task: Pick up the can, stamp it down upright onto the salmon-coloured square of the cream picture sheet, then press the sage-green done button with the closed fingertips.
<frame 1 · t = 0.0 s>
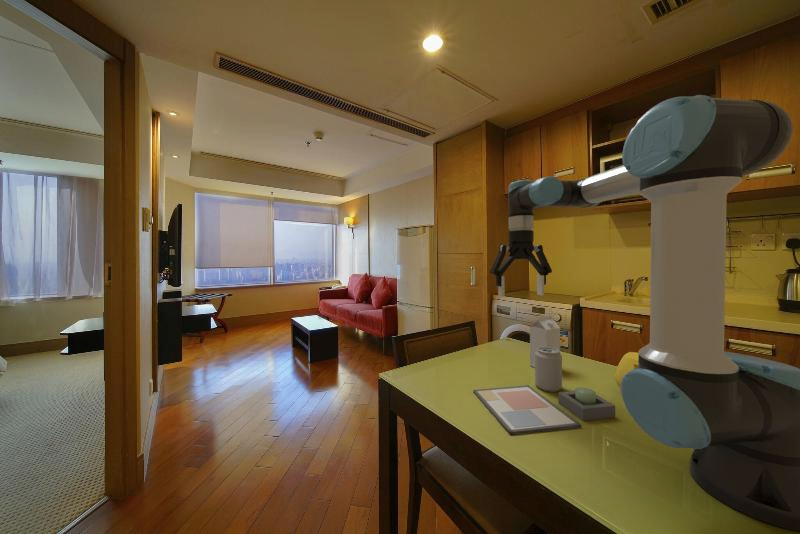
hand: (521, 295, 96), 28 cm above the table, fingers open, 13 cm apart
milk carton: (544, 368, 108), on the table
done button: (585, 397, 78), point 3 cm above the table, slide at 0.0 cm
can: (548, 388, 92), on the table
teapot: (643, 397, 85), on the table
picture sheet: (520, 407, 80), on the table
button housing: (585, 409, 78), on the table
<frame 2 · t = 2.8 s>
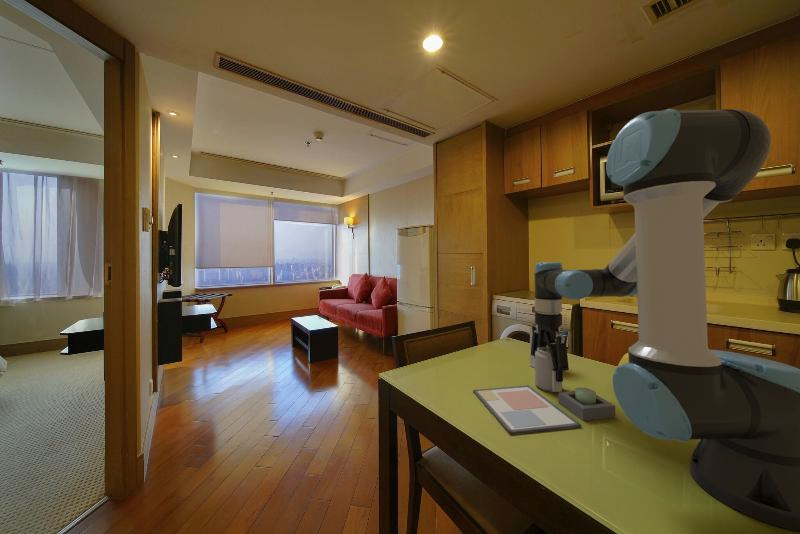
hand: (548, 385, 92), 1 cm above the table, fingers closed on can, 7 cm apart
can: (548, 388, 92), on the table, touching gripper
everything else where it was.
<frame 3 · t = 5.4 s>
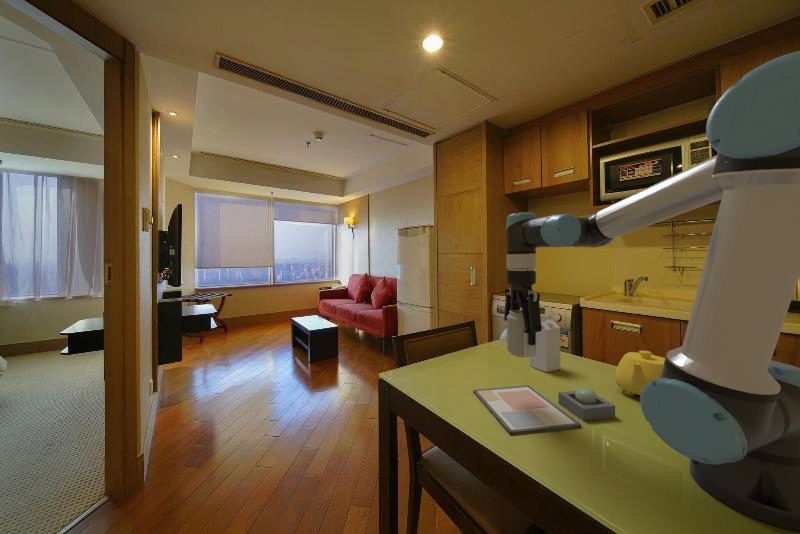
hand: (521, 351, 83), 14 cm above the table, fingers closed on can, 7 cm apart
can: (521, 354, 83), point 13 cm above the table, touching gripper
everything else where it was.
when the fingers open (3 cm above the table, at t = 7.8 s): can drops 1 cm, resting on picture sheet.
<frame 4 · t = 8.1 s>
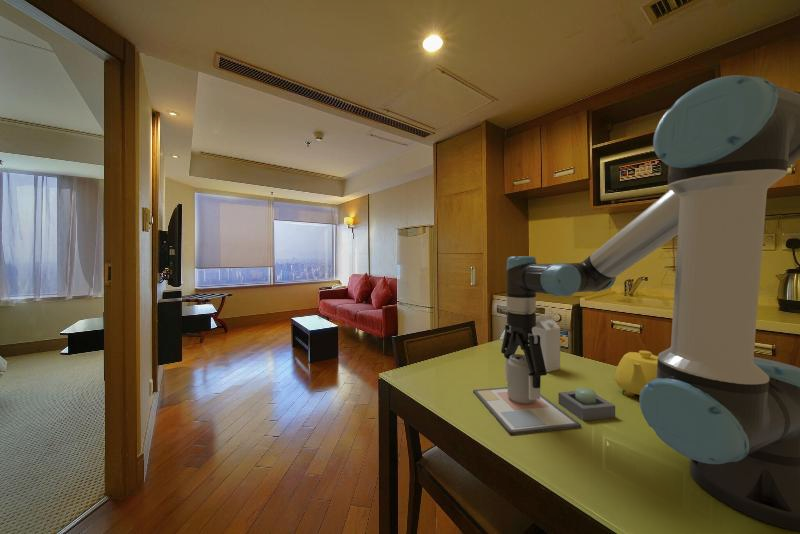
hand: (521, 388, 83), 4 cm above the table, fingers open, 11 cm apart
can: (521, 400, 83), point 1 cm above the table, touching picture sheet
everything else where it was.
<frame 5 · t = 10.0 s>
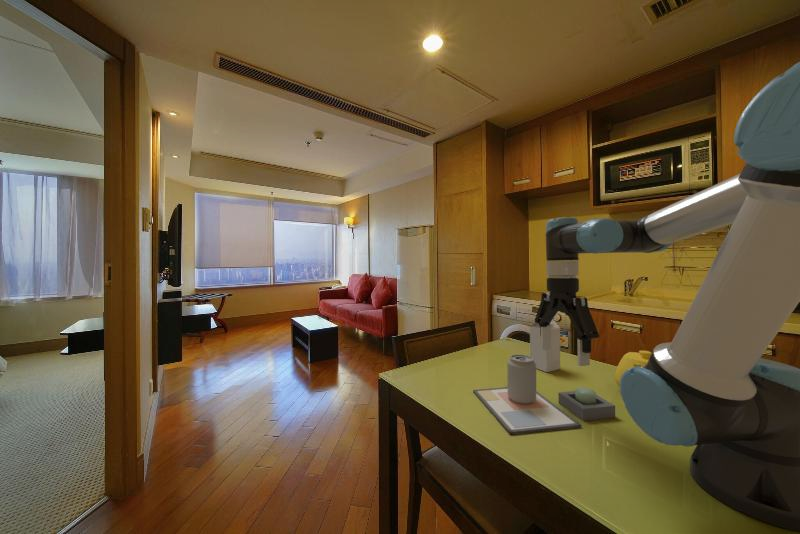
hand: (563, 356, 79), 14 cm above the table, fingers open, 13 cm apart
nothing on the table moved.
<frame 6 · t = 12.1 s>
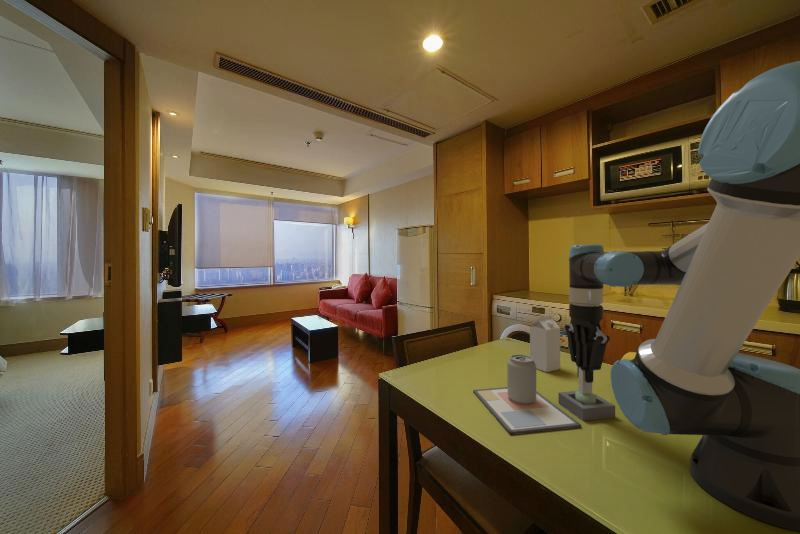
hand: (585, 392, 78), 5 cm above the table, fingers closed
done button: (585, 400, 78), point 3 cm above the table, slide at 0.7 cm, touching gripper
everything else where it was.
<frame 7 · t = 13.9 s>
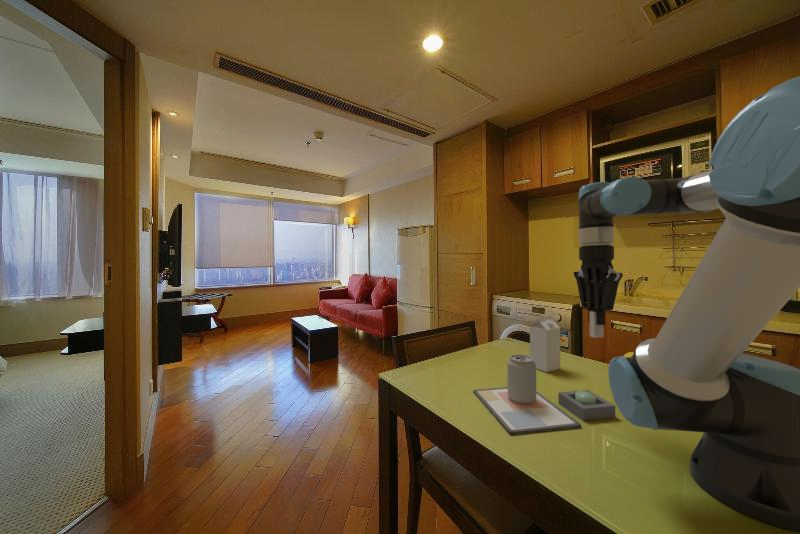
hand: (596, 336, 76), 20 cm above the table, fingers closed
done button: (585, 401, 78), point 2 cm above the table, slide at 1.0 cm
everything else where it was.
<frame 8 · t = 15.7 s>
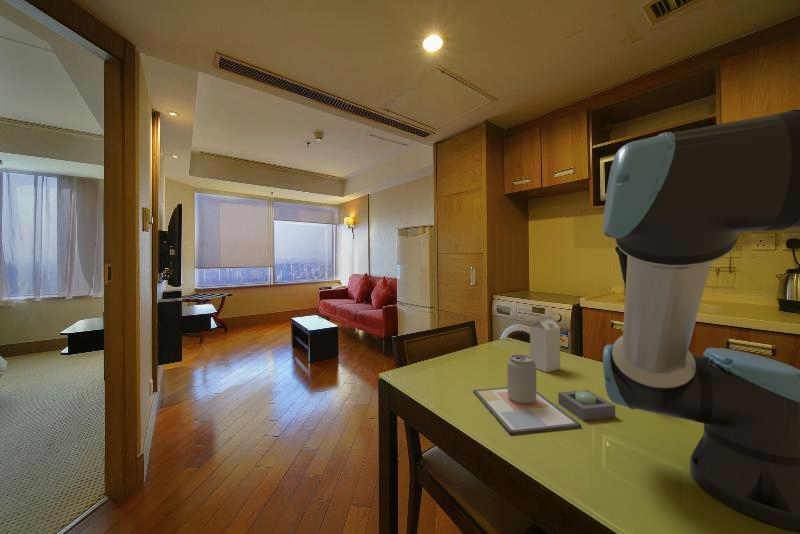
hand: (640, 312, 74), 26 cm above the table, fingers closed
nothing on the table moved.
at the end: can inside the target area (0.1 cm from its centre), point 0.5 cm above the table; can tilted 0°; done button slide at 1.0 cm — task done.
